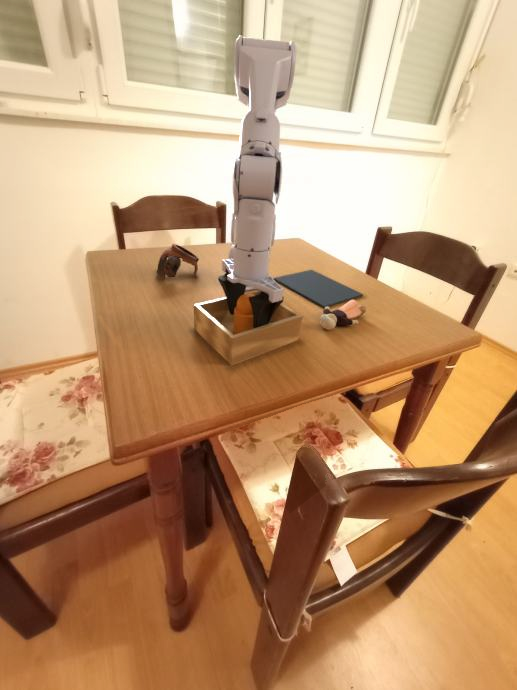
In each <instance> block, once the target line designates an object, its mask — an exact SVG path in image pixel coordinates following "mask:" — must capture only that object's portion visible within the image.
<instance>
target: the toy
mask: <svg viewBox="0 0 517 690" xmlns="http://www.w3.org/2000/svg"><path fill="white" fill-rule="evenodd" d="M252 296H255V295H253V294H250V293H246V294H243V295H241V296H240V297H239V299H238V301H237V306H236V307H235V309H234V326H233V335H235V334H238V333H242V332H245V331H248V330H251V329H253V311H252V307H251V304H250V301H249V297H252Z"/></svg>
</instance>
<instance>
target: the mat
mask: <svg viewBox="0 0 517 690" xmlns="http://www.w3.org/2000/svg"><path fill="white" fill-rule="evenodd" d="M273 279H274V280H275V282H276V283H277V284H278V283H279V284H280V285H282V286H284V287H286V288H287V289H288V290H291V291H293V292H295V293H296V294H298V295H300V296H302V297H303V298H305V299H307V300H309V301H311V302H312V303H314V304H315V305H317V306H319V307H321V308H323V309H325V307H326V306H328V307H329V308H330V307H332V306H335V305H340V304H342V303H344V302H349V301H350V300H355V299H357V298H361V297H363V295H364V294H363V293H361V292H359V291H357V290H356V289H354V288H351V287H349V286H347V285H345V284H342V283H341V282H338V281H336V280H334V279H331V278H330V277H328V276H325V275H323V274H321V273H320V272H317V271H315V270H314V269H309V270H304V271H300V272H295V273H291V274H285V275H281V276H277V277H273Z"/></svg>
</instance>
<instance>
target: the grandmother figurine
mask: <svg viewBox="0 0 517 690" xmlns="http://www.w3.org/2000/svg"><path fill="white" fill-rule="evenodd" d="M366 312H367V306H366V305H365V304H359V303H358V301H357V300H356V299H351V300H348V301H347V302H346V303H345V304H343V305H342V306H340V307H339V308H337V309H334V310H332V311H331V307H330V306H329V307H328V306H326V307H325V308H323V311H322V313H323V314H322V315H321V316H320V319H319V320H320V321H319V322H320V326H321V327H322V329H325V330H326V331H331V330H333V329H334V328H335V327H336V326H337V325H344V326H357V325H359V320H358V319H355V318H357V317H362V316H363V315H364V314H365V313H366Z"/></svg>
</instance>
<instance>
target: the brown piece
mask: <svg viewBox="0 0 517 690" xmlns="http://www.w3.org/2000/svg"><path fill="white" fill-rule="evenodd" d="M171 244H172V245H171V246H170V247H168V248H167V249H165V250H163V252H162V253H161V255H160V257H159V259H158V264H157V270H156V274H157V275H158V277H160V278H162V280H163V279H165V278H166V276H167V277H168V278H170V279H171V278H176V276H177V273H178V270H179V269H180V267H181V265H182V262H185V263H187V264H190V265H192V266H193V267H194V271H193V276H197V273H198V270H199V265H198V262H199V260H200V259H199V257H198V256H197V255H195V254H194V253H193V252H191V251H190V250H188V249H187V248H185V247H183V246H180V245H179V244H175V243H171Z"/></svg>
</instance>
